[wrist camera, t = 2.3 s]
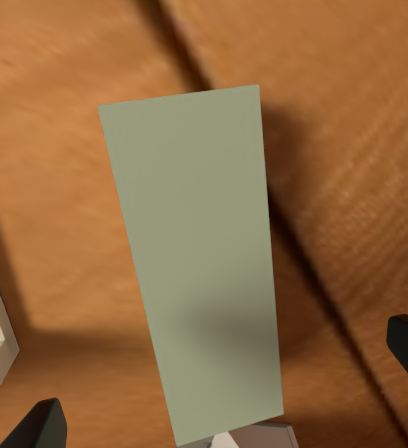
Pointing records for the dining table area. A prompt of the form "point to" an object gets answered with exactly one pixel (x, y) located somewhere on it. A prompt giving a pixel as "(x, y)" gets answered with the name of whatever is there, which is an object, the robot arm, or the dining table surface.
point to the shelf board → (201, 252)
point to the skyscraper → (250, 437)
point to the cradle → (6, 343)
